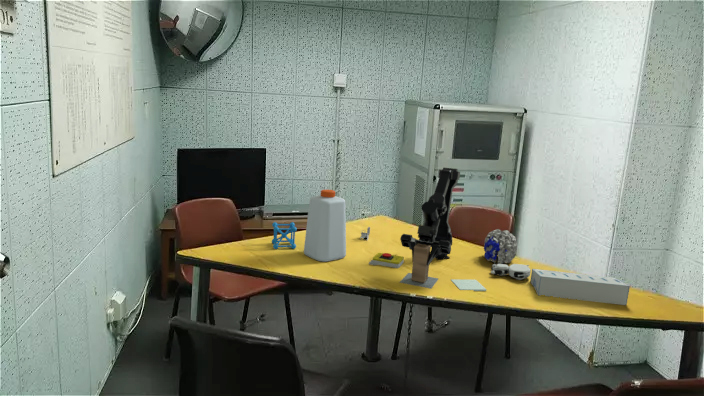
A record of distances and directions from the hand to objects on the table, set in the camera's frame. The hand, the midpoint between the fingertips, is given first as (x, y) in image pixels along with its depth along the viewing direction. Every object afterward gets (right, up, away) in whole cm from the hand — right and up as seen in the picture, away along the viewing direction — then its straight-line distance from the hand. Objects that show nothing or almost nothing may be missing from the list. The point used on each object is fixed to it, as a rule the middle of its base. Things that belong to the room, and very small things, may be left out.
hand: (420, 263), depth 182 cm
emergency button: (-10, -4, +21) cm, 24 cm away
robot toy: (+38, -7, +15) cm, 42 cm away
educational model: (+39, -3, +35) cm, 53 cm away
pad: (+18, -8, +1) cm, 20 cm away
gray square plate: (0, -7, +3) cm, 8 cm away
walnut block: (0, -6, +3) cm, 7 cm away
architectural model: (-23, +3, +52) cm, 56 cm away
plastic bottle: (-37, 0, +26) cm, 45 cm away
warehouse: (+58, -12, +1) cm, 59 cm away
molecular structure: (-55, +3, +36) cm, 66 cm away
